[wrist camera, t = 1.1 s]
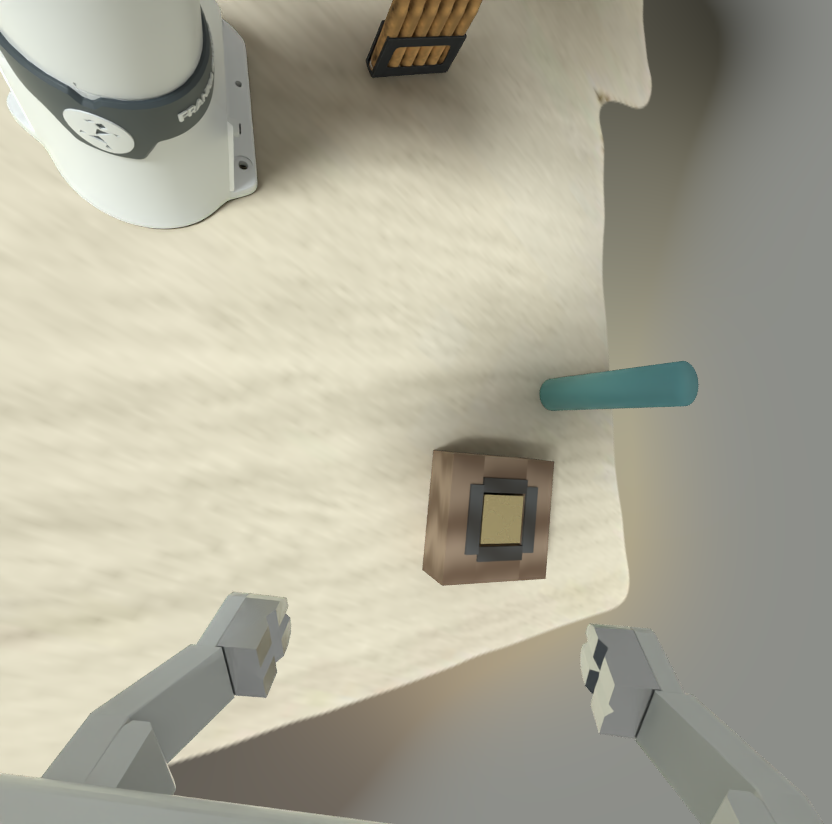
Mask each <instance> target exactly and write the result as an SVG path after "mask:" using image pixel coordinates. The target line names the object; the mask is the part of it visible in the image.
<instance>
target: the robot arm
mask: <svg viewBox="0 0 832 824" xmlns="http://www.w3.org/2000/svg"><path fill="white" fill-rule="evenodd" d="M0 71H1V73H2V74H3V76H4V78H5V80H6V82H7V84H8V86H9V88H10V89H11V91H10V93H9V95H8V97H7V106H8V108H9V110H10V112H11V114H12V116H13V117H14V119H15V120H16V121H17V122H18V124H19V125H20V126H21V127H23V128H24V129H25V130H26V131H27V132H28V133H29V134H30V135H32V136H33V137H34V138H35V139H36V140H38V141H39V142H40V143H41V144H42V145H43V146H44V148H45V149H46V150H47V152H48V153H49V155H50V157H51V158H52V160H53V162H54V164H55V166H56V167H57V169H58V171H59V172H60V174H61V175H62V176H63V178H64V179H65V180H66V182H67V183H68V184H69V185H70V186H71V187H72V188H73V189H74V190H75V191H76V192H77V193H78V194H79V195H80V196H81V197H82V198H83V199H85V200H86V201H87V202H89V203H90V204H91V205H93V206H94V207H96V208H97V209H99V210H101V211H102V212H104V213H106V214H108V215H110V216H112V217H114V218H116V219H119V220H121V221H124V222H127V223H130V224H134V225H138V226H143V227H149V228H162V229H164V228H177V227H183V226H187V225H191V224H194V223H196V222H199V221H201V220H203V219H205V218H206V217H208V216H209V215H211V214H212V213H213V212H215V211H216V210H217V209H218V208H219V207H220V206H221V205H223V204H224V203H225V202H227V201H229V200H231V199H235V198H239V197H243V196H246V195H249V194H251V193H253V192H254V191H255V190H256V188H257V184H258V182H257V170H256V158H255V147H254V135H253V123H252V112H251V100H250V89H249V77H248V66H247V55H246V47H245V42H244V40H243V39H242V37H241V36H240V35H239V34H238V33H237V32H236V31H235V29H234V28H233V27H232V26H231V25H229V24H228V23H227V22H226V21H225V20H224V19H223V18H222V17H221V9H220V7H219V5H218V3H217V2H216V1H215V0H0ZM240 165H244V166H246V167H247V169H246V170H243V169H241V168H240V167H239V166H240ZM287 609H288V602H287V598H285V597H278V596H269V595H261V594H252V593H242V592H232V593H231V594H229V595H228V596H227V597H226V599H225V601H224V602H223V604H222V605H221V607H220V608H219V610H218V611H217V613H216V614H215V616H214V618H213V619H212V621H211V622H210V624H209V625H208V627H207V628H206V630H205V632H204V633H203V635H202V636H201V638H200V639H199V641H198V642H197V644H196V645H195V644H190V645H189V646H188V647H186V648H185V649H183V650H182V651H180V652H179V653H177V654H176V655H174V656H173V657H172V658H170V659H169V660H167V661H166V662H164V663H163V664H161V665H160V666H158V667H157V668H156V669H154V670H153V671H151V672H150V673H148V674H147V675H145V676H144V677H142V678H141V679H140V680H138V681H137V682H135V683H134V684H132V685H131V686H129V687H128V688H126V689H125V690H124V691H122V692H121V693H119V694H118V695H116V696H115V697H113V698H112V699H110V700H109V701H108V702H106V703H105V704H103V705H102V706H100V707H99V708H97V709H96V710H94V711H93V712H92V713H90V715H89V716H88V717H87V719H86V720H85V721H84V723H83V724H82V725H81V726H80V728H79V729H78V730H77V732H76V733H75V734H74V735H73V737H72V738H71V739H70V741H69V742H68V743H67V745H66V746H65V747H64V748H63V750H62V751H61V752H60V754H59V755H58V756H57V757H56V759H55V760H54V761H53V763H52V764H51V765H50V766H49V768H48V769H47V770H46V772H45V773H44V774H43V776H42V777H41V778H37V777H29V776H21V775H14V774H6V773H0V824H389V823H381V822H374V821H366V820H359V819H351V818H343V817H335V816H328V815H320V814H313V813H305V812H298V811H290V810H282V809H275V808H274V809H273V808H266V807H259V806H251V805H244V804H236V803H228V802H220V801H213V800H205V799H198V798H189V797H182V796H175V795H173V794H174V792H175V790H176V787H175V782H174V779H173V777H172V775H171V772H170V770H169V767H168V765H167V763H168V762H169V761H170V760H171V759H173V758H174V757H175V756H176V755H177V754H178V753H179V752H180V751H181V750H182V749H183V748H184V747H185V746H186V745H187V744H188V743H189V742H190V741H191V740H192V739H193V738H194V737H195V736H196V735H197V734H198V733H199V732H200V731H201V730H202V729H203V728H204V727H205V726H206V725H207V724H208V723H209V722H210V721H211V720H212V719H213V718H214V717H215V716H216V715H217V714H218V713H219V712H220V711H221V710H222V709H223V708H224V707H225V706H226V705H227V704H228V703H229V702H230V701H231V700H232V699H233V698H234V695H238V696H251V697H264V698H266V697H267V695H268V693H269V690H270V688H271V685H272V683H273V681H274V678H275V676H276V673H277V669H276V662H277V661H278V660H279V659H280V658H282V657H283V656H284V654H285V651H286V649H287V646H288V643H289V638H290V634H291V620H290V618H289V617H288V615H287V614H286V611H287ZM586 637H587V640H588V641H587V642H586V643H585V644H583V645H582V649H581V654H580V664H581V671H582V677H583V680H584V684H585V686H586V687H587V688H588V690H589V691H590V692H591V693H592V694H593V697H592V701H591V708H592V712H593V715H594V718H595V721H596V725H597V728H598V732H599V734H605V735H611V736H618V737H626V738H633V739H636V742H637V743H638V745H639V746H640V747H641V749H642V750H643V751H644V752H645V754H646V755H647V756H648V758H649V759H650V760H651V761H652V763H653V764H654V765H655V766H656V768H657V769H658V770H659V772H660V773H661V774H662V775H663V776H664V778H665V779H666V780H667V782H668V783H669V784H670V786H671V787H672V788H673V789H674V791H675V792H676V793H677V794H678V796H679V797H680V798H681V799H682V801H683V802H684V803H685V805H686V806H687V807H688V809H689V810H690V811H691V812H692V814H693V815H694V816H695V817H696V819H697V820H698V821H699V823H700V824H824V823H823V821H822V820H821V818H820V817H819V815H818V813H817V812H816V810H815V809H814V807H813V805H812V804H811V802H810V801H809V799H808V798H807V796H806V795H804V794H803V793H802V792H801V791H800V790H799V789H798V788H797V787H795V786H794V785H793V784H792V783H791V782H790V781H789V780H788V779H786V778H785V777H784V776H783V775H782V774H781V773H780V772H779V771H777V770H776V769H775V768H774V767H773V766H772V765H771V764H770V763H769V762H767V761H766V760H765V759H764V758H763V757H762V756H761V755H760V754H759V753H757V752H756V751H755V750H754V749H753V748H752V747H751V746H750V745H748V744H747V743H746V742H745V741H744V740H743V739H742V738H741V737H739V736H738V735H737V734H736V733H735V732H734V731H733V730H732V729H731V728H729V727H728V726H727V725H726V724H725V723H724V722H723V721H721V720H720V719H719V718H718V717H717V716H716V715H715V714H714V713H713V712H711V711H710V710H709V709H708V708H707V707H706V706H705V705H704V704H703V703H701V702H700V701H699V700H698V699H697V698H696V697H695V696H694V695H692V694H687V693H685V691H684V689H683V687H682V685H681V683H680V682H679V679H678V678H677V676H676V674H675V672H674V670H673V668H672V666H671V664H670V662H669V660H668V658H667V656H666V654H665V652H664V650H663V648H662V646H661V644H660V642H659V640H658V638H657V636H656V635H655V633H654V632H653V631H652V630H651V629H648V628H636V627H628V626H617V625H603V624H589V625H588V627H587V629H586Z"/></svg>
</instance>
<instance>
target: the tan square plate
mask: <svg viewBox="0 0 832 824" xmlns="http://www.w3.org/2000/svg"><path fill="white" fill-rule="evenodd" d="M523 497H524V496H521V495H511V494H485V493H484V494H483V506H482V518H481V530H480V542H479V543H480V544H500V543H520V535H521V523H522V510H523Z"/></svg>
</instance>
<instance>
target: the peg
mask: <svg viewBox="0 0 832 824" xmlns="http://www.w3.org/2000/svg"><path fill="white" fill-rule="evenodd" d="M697 392H698V378H697V374H696V372H695V370H694V368H693V367H692V365H690V364H689V363H688V362H686V361H679V362H672V363H664V364H657V365H650V366H642V367H635V368H628V369H620V370H613V371H605V372H598V373H591V374H583V375H576V376H568V377H561V378H554V379H548V380H546V381H545V382H544V383H543V384H542V386H541V389H540V400H541V403H542V404H543V406H544V407H545V408H546V409H548V410H551V411H557V410H586V409H614V408H644V407H674V406H688V405H690V404H691V403H692V402H693V401H694V400H695V398H696V396H697Z"/></svg>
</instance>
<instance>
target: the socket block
mask: <svg viewBox="0 0 832 824" xmlns="http://www.w3.org/2000/svg"><path fill="white" fill-rule="evenodd" d="M553 469H554V462H553V461H545V460H537V459H530V458H519V457H507V456H495V455H484V454H472V453H460V452H448V451H436V450H433V461H432V471H431V482H430V493H429V504H428V515H427V525H426V536H425V547H424V558H423V569H422V570H423V571H425V572H426V573H427V574H428V575H430V576H431V577H432V578H433V579H435V580H436V581H437V582H438V583H440V584H441V585H442V586H444V585H459V584H474V583H488V582H503V581H518V580H533V579H546V565H547V551H548V537H549V524H550V510H551V496H552V482H553ZM484 492H490V493H499V494H511V495H521V496H524V497H523V510H522V523H521V535H520V543H500V544H480V543H479V542H480V530H481V518H482V506H483V494H484Z"/></svg>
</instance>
